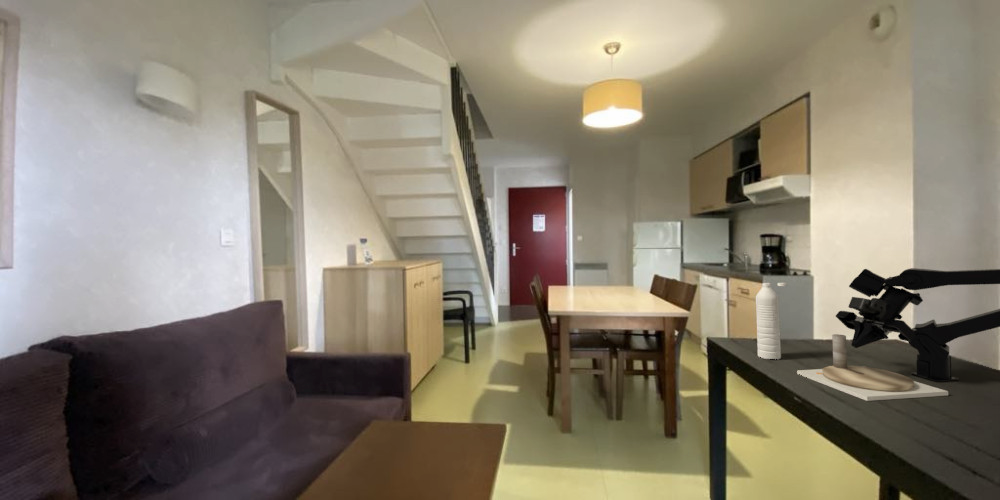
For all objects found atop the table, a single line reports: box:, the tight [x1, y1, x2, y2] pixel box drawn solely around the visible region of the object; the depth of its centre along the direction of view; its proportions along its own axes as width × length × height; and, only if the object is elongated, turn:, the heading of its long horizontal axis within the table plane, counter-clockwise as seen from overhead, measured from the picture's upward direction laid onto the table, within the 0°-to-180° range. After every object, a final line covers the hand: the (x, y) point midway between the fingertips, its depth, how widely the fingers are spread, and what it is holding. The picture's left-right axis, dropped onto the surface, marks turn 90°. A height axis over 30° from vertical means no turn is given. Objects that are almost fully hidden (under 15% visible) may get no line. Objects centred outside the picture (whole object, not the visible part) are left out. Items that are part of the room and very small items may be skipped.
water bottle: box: [755, 282, 788, 360], centre depth 134 cm, size 9×6×25 cm
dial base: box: [796, 366, 949, 402], centre depth 108 cm, size 21×21×1 cm
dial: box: [822, 333, 915, 391], centre depth 108 cm, size 18×18×10 cm
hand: (853, 346), depth 115 cm, fingers closed
